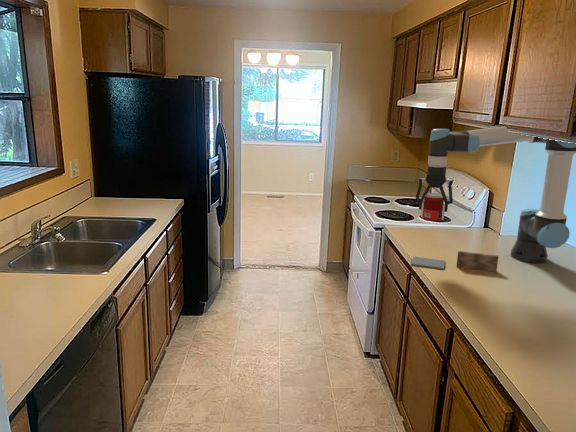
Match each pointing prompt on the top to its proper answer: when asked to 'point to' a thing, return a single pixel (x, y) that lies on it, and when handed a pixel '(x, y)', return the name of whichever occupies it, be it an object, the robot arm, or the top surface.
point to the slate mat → (428, 263)
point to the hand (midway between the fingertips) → (432, 217)
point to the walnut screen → (477, 261)
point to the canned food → (433, 207)
